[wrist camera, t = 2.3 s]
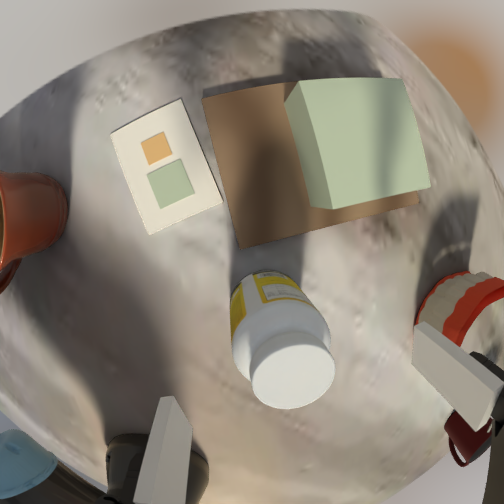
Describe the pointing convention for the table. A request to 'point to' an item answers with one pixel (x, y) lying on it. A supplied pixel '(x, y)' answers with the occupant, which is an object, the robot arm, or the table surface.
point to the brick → (356, 140)
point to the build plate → (271, 169)
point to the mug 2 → (467, 439)
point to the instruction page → (165, 167)
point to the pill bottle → (280, 340)
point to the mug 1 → (28, 218)
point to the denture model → (459, 302)
